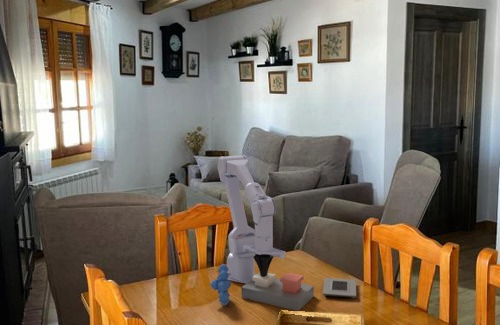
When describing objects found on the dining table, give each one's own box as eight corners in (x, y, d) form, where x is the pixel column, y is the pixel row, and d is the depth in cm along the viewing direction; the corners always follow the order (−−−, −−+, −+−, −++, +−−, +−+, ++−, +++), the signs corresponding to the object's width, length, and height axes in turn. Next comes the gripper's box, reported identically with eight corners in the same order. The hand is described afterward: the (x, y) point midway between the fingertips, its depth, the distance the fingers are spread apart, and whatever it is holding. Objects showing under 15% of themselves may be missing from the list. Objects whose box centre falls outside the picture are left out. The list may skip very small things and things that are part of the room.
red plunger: (280, 294, 157) (280, 278, 156) (287, 287, 162) (287, 272, 161) (296, 297, 154) (296, 281, 153) (303, 291, 159) (303, 275, 158)
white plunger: (252, 292, 162) (252, 277, 161) (260, 286, 167) (260, 271, 166) (267, 295, 159) (267, 280, 158) (275, 289, 164) (275, 274, 163)
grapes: (210, 295, 163) (209, 259, 161) (230, 294, 163) (230, 259, 161) (210, 310, 151) (209, 273, 149) (232, 309, 152) (232, 272, 150)
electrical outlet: (355, 301, 158) (356, 294, 157) (322, 299, 160) (322, 292, 159) (355, 285, 170) (355, 279, 170) (324, 283, 172) (324, 276, 172)
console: (241, 297, 160) (241, 287, 160) (259, 284, 171) (259, 274, 170) (298, 310, 151) (298, 300, 150) (313, 296, 161) (313, 285, 161)
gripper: (238, 235, 160) (238, 275, 162) (278, 242, 153) (278, 284, 155) (248, 230, 166) (249, 268, 168) (288, 236, 159) (288, 276, 161)
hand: (263, 275), depth 162 cm, fingers closed, pressing on white plunger
